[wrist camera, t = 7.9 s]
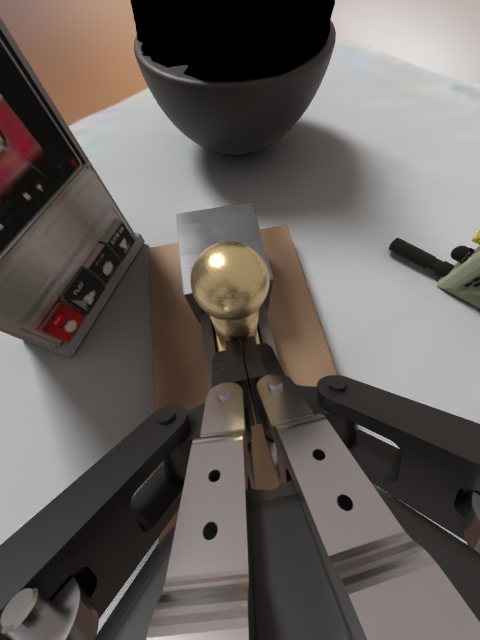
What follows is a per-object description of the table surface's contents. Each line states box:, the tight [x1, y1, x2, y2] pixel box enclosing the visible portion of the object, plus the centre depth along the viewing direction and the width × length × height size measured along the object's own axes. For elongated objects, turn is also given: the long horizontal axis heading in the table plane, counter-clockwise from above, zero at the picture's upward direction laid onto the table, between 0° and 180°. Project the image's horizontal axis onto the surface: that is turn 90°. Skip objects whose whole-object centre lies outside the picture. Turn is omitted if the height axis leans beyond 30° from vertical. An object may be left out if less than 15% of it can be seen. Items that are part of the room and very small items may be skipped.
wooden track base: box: [149, 225, 375, 542], centre depth 17 cm, size 14×34×4 cm, turn 10°
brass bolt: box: [190, 241, 269, 356], centre depth 14 cm, size 3×8×12 cm, turn 10°
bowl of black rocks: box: [131, 0, 336, 155], centre depth 24 cm, size 20×20×19 cm
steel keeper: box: [176, 202, 273, 323], centre depth 19 cm, size 6×7×5 cm
